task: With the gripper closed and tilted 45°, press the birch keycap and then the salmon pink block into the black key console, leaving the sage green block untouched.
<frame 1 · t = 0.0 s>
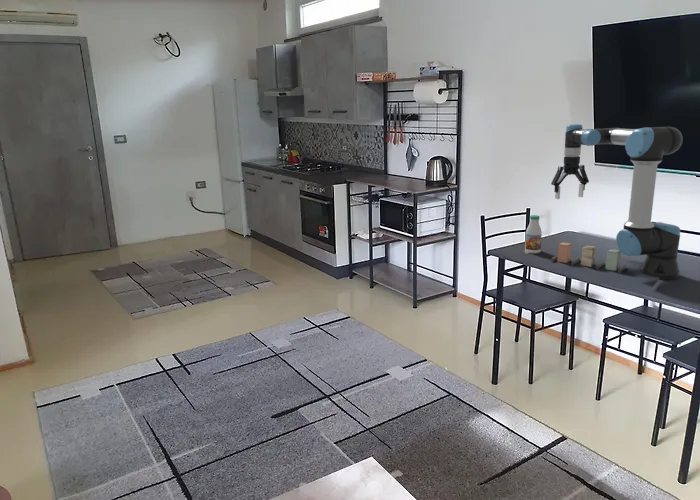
hand: (569, 197, 277), 28 cm above the table, tool pointing down, fingers open, 13 cm apart
birch key: (588, 256, 254), point 6 cm above the table, slide at 0.0 cm
salmon pink block: (564, 252, 261), point 6 cm above the table, slide at 0.0 cm
key console: (587, 267, 255), on the table
sage green block: (613, 259, 247), point 6 cm above the table, slide at 0.0 cm
milk bottle: (532, 253, 281), on the table
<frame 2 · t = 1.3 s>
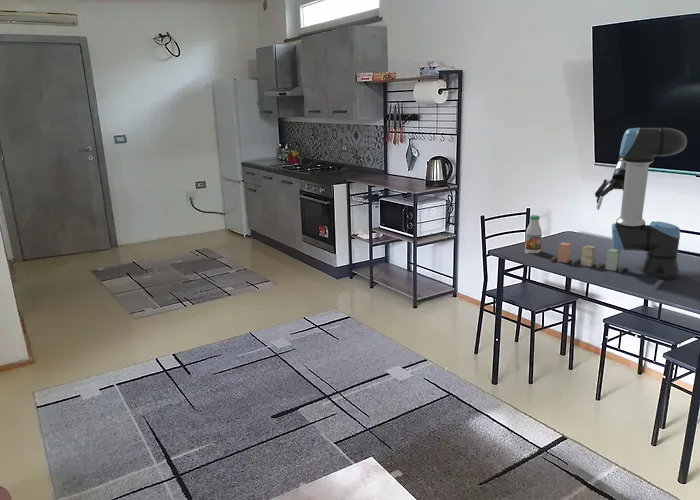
hand: (609, 209, 260), 25 cm above the table, tool tilted 45°, fingers open, 10 cm apart
nothing on the table moved.
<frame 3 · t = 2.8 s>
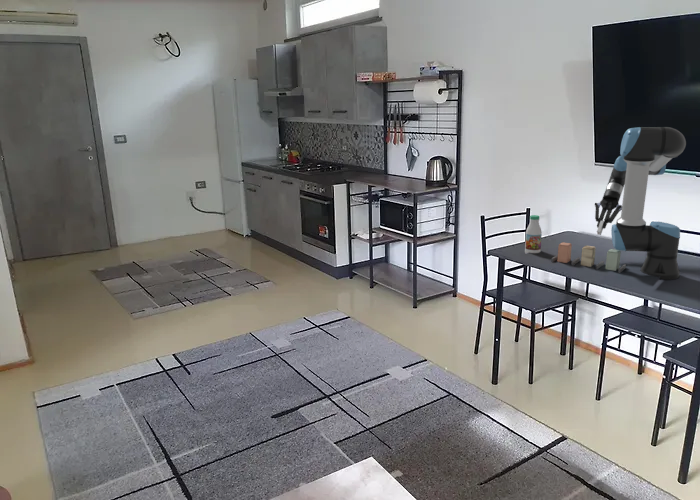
hand: (598, 233, 262), 14 cm above the table, tool tilted 45°, fingers closed
nothing on the table moved.
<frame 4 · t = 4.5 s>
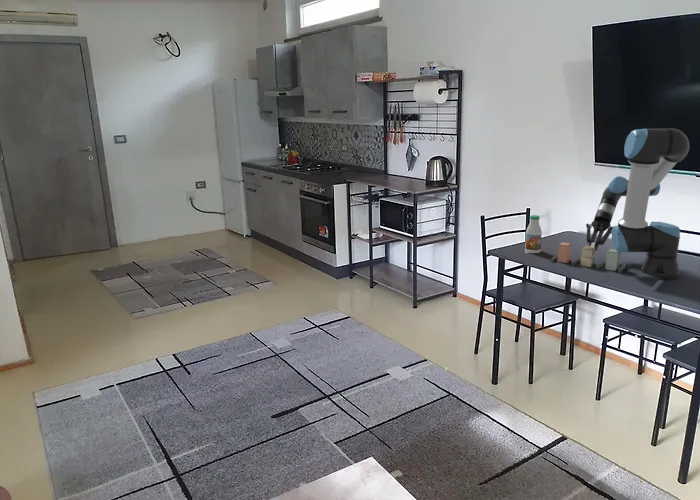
hand: (590, 255, 256), 5 cm above the table, tool tilted 45°, fingers closed
birch key: (587, 256, 253), point 6 cm above the table, slide at 0.4 cm, touching gripper
everything else where it was.
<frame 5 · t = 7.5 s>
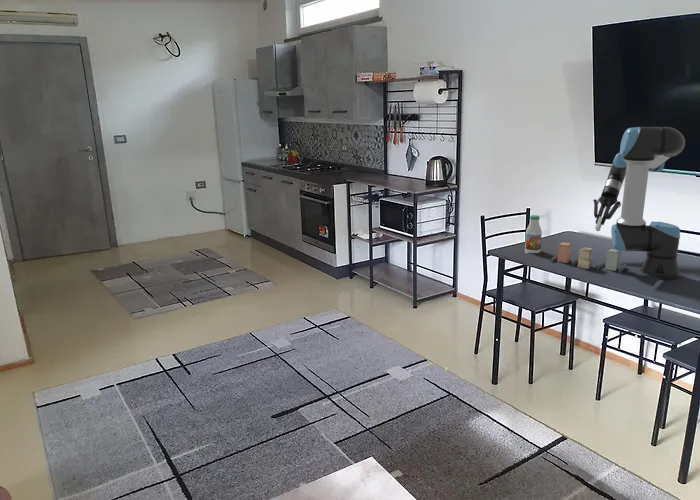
hand: (597, 229, 263), 15 cm above the table, tool tilted 45°, fingers closed
birch key: (585, 257, 251), point 6 cm above the table, slide at 4.0 cm
everything else where it was.
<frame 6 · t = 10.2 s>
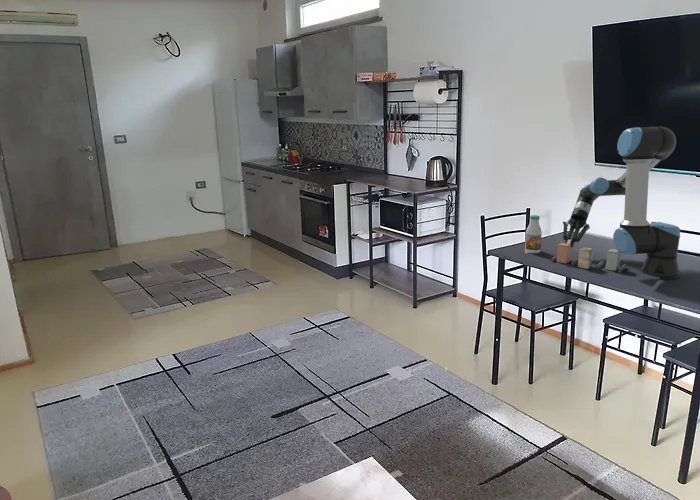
hand: (566, 252, 263), 5 cm above the table, tool tilted 45°, fingers closed
salmon pink block: (563, 252, 260), point 6 cm above the table, slide at 1.0 cm, touching gripper
everything else where it was.
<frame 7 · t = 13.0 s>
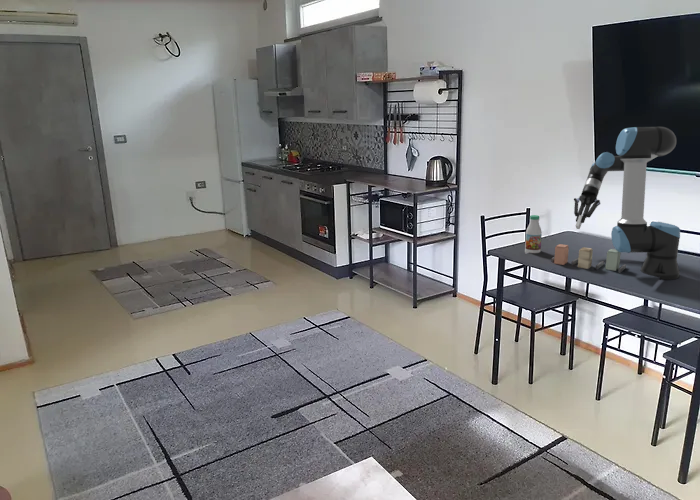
hand: (577, 227, 269), 15 cm above the table, tool tilted 45°, fingers closed
salmon pink block: (561, 254, 258), point 6 cm above the table, slide at 4.0 cm
everything else where it was.
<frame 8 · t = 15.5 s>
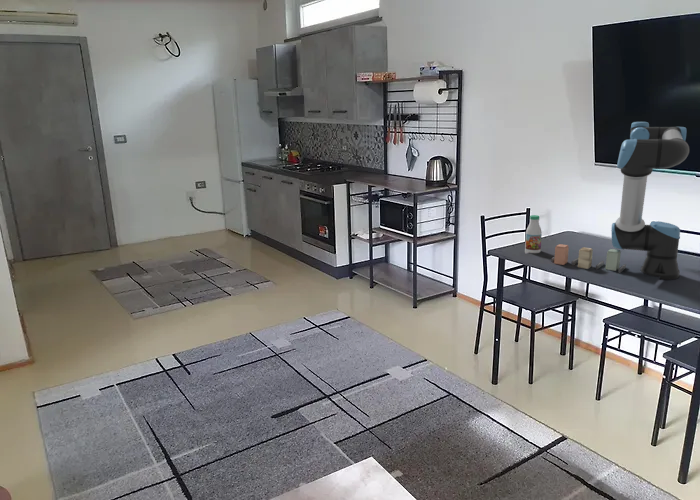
hand: (631, 203, 267), 26 cm above the table, tool pointing down, fingers closed
nothing on the table moved.
at the end: birch key slide at 4.0 cm; salmon pink block slide at 4.0 cm; sage green block slide at 0.0 cm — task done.
